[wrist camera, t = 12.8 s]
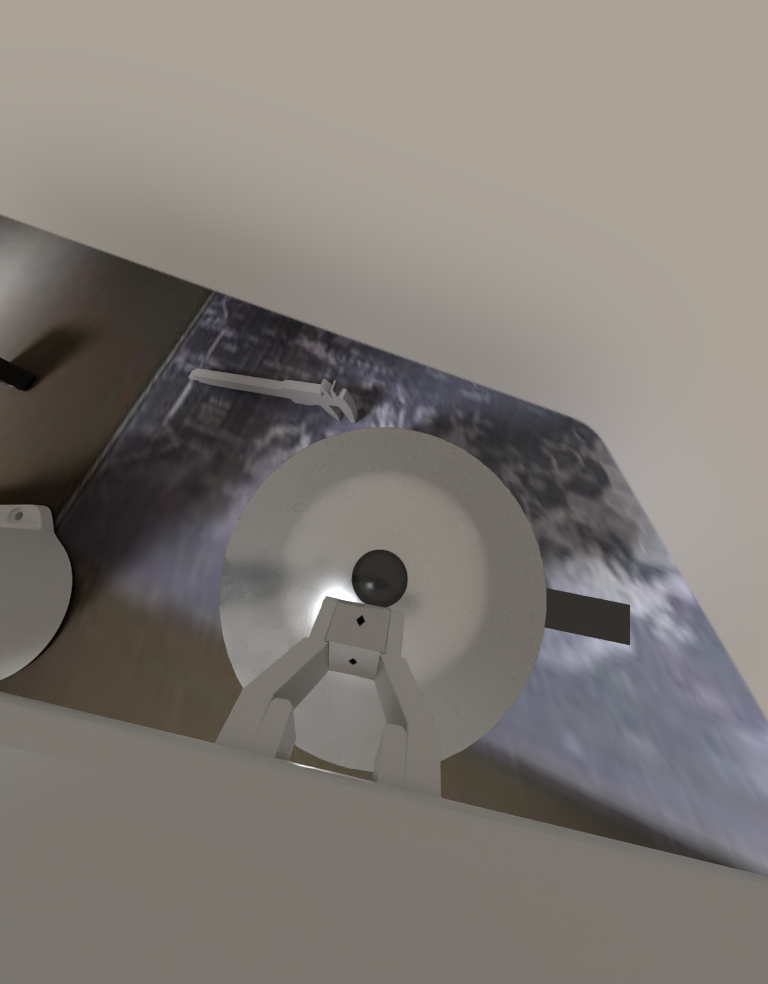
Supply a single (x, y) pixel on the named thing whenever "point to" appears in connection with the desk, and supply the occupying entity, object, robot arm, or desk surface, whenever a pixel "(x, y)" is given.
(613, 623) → the cooker pot
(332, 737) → the lid
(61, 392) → the desk surface
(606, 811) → the desk surface
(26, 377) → the ink cartridge
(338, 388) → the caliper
